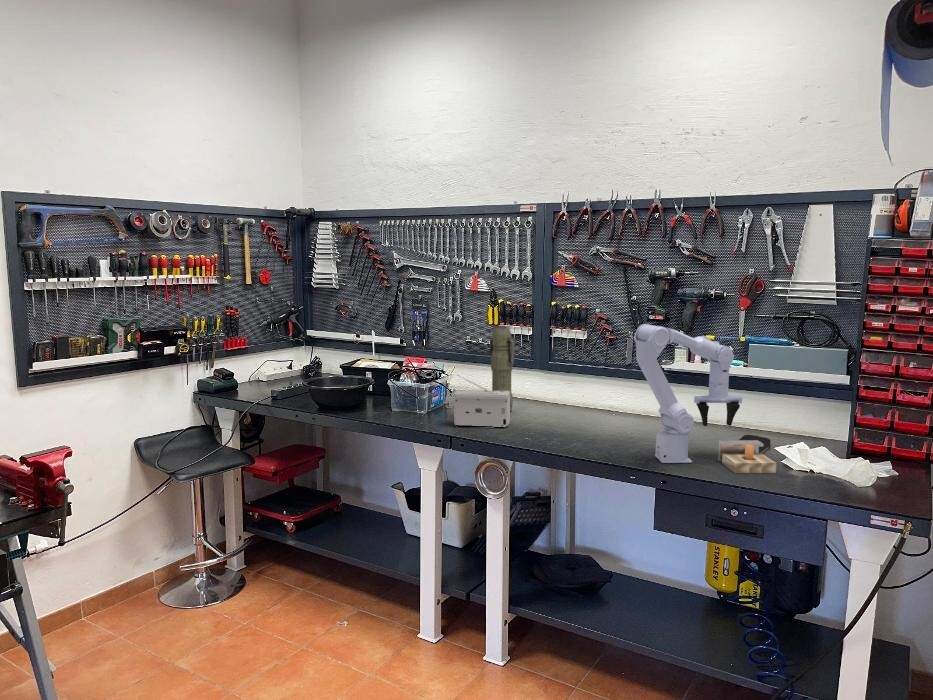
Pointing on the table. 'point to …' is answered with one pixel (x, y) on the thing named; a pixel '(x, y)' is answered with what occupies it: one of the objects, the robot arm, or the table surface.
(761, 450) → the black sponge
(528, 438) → the table surface
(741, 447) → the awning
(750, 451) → the peg
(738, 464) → the socket block
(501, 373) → the olive green jumpsuit
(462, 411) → the stereo radio cassette player
